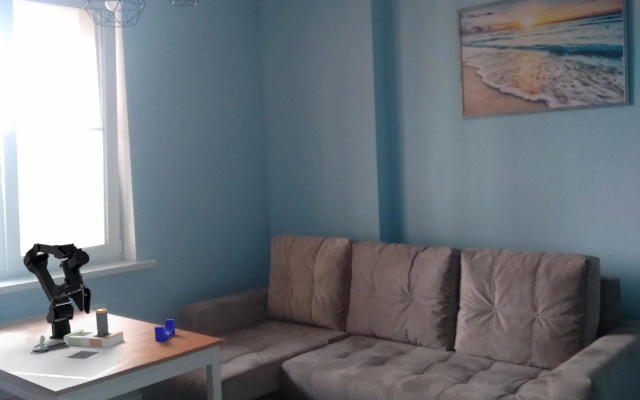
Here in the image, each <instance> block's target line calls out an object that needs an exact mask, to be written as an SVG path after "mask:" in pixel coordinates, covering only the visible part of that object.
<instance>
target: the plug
mask: <svg viewBox="0 0 640 400" xmlns="http://www.w3.org/2000/svg"><path fill="white" fill-rule="evenodd" d="M95 318H96V331H97V335H98V337H105V336H108V335H109V332H110V331H109V321H108V320H109V319H108V308H99V309H95Z"/></svg>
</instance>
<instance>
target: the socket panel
mask: <svg viewBox="0 0 640 400" xmlns="http://www.w3.org/2000/svg"><path fill="white" fill-rule="evenodd" d="M124 338H125V337H124V332H123V331H109V335H108V336H105V337H98V335H97V330H85V329H78V330H75V331H73V332H71V333H70V334H67V335H65V336H64V338H63V343H64V342H65V343H66V344H67V345H68V346H78V347H79V346H86V347H95V348H97V347H98V348H101V347H102V348H109V347H110V348H111V346H114V345H116V344H119V343H121V342H123V341H124ZM66 344H65V345H66ZM67 345H66V346H67Z"/></svg>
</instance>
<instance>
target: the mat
mask: <svg viewBox="0 0 640 400" xmlns="http://www.w3.org/2000/svg"><path fill="white" fill-rule="evenodd" d="M99 353H100V351H92V350H80V351H77V352H75V353H73V354H71V355H69V356H66V357H65V358H68V359H80V360H83V359H84V360H85V359H88V358H90V357H92V356H94V355H96V354H99Z"/></svg>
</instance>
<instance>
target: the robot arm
mask: <svg viewBox="0 0 640 400" xmlns="http://www.w3.org/2000/svg"><path fill="white" fill-rule="evenodd" d="M50 255H52V256H53V257H54V258H55V259H57V260H61V261H60V264H59V268H60V269H61V268H62V271H63V275H64V279H63V280H64V283H61V284H60V285H58V284H56V283H55V280H54V278H53V277H52V274H51V273H50V271H49V269H48V264H49V258H50ZM90 259H91V258H90V254H88V252H86V251H85V250H83V249H82V247H79V248H78V247H77V245H75V243H74V242H72V241H71V242H65V243H56V242H55V243H54V242H50V241H38V242H36V243H34V244H33V246H32V247H31V248H30V249H29V250H28V251H26V253H25V255H24V256H23V265H24V266H25V268H26V269H27V271H28V272H30V273H31V274H33V275H35V276H36V278H37V280H38V282H39V284H40V286H41V288H42V290H43V293H44V294H45V295H46V298H47V299H48V302H49V306H48V313H47V316H46V317H45V319H46V322H47V323H48V324H50V325H51V335H49V339H60V340H61V339H62V340H64V336H65V335H67V334H70V333H72V329H71V328H72V327H71V323H70V320H71V321H72V320H74V312H75V307H74V305H76V307H77V309H78V310H79V312H83V311H84V312H85V314H86V315H88V314H90V313H91V306H92V305H91V304H92V298H93V290H92V289H90V288H89V287H87V284H85V282H84V275H83V274H82V273H81V269H82V268H83V267H84V266H86V265H87V264H88V263H89V262H90ZM70 299H72V300H73V302H74V305H73V303H72V301H71V300H70Z"/></svg>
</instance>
